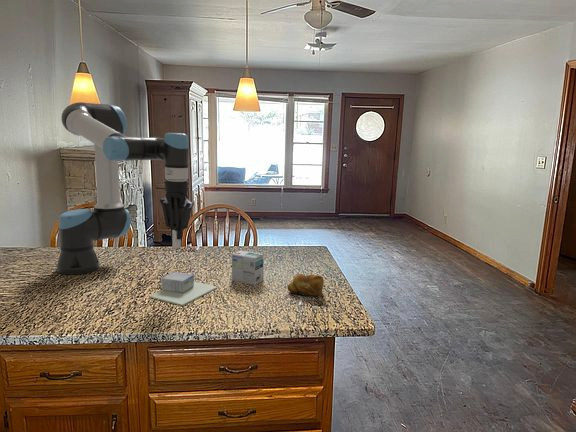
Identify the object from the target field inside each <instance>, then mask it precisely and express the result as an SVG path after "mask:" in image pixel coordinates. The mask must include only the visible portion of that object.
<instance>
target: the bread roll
mask: <svg viewBox="0 0 576 432" xmlns="http://www.w3.org/2000/svg"><path fill="white" fill-rule="evenodd" d="M324 284H325V280H324V277H323V275H320V274H319V275H318V274H317V275H316V274H311V273H310V274H307V275H305V274H302V273H297V274H296V275H295V276H294V277H293V279H292V281H291V282H289V283H288V284H287V290H288V292H290V293H291V294H294V295H302V296H305V297H317V296H319V295H321V294H322V292H323V288H324Z"/></svg>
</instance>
